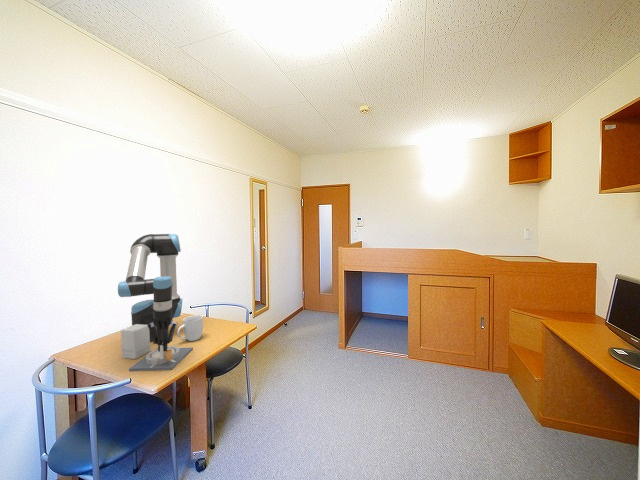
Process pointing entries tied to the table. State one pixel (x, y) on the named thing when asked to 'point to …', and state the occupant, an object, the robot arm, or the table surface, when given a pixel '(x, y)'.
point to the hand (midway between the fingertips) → (162, 357)
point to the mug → (192, 327)
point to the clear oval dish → (168, 354)
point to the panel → (161, 366)
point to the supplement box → (135, 341)
